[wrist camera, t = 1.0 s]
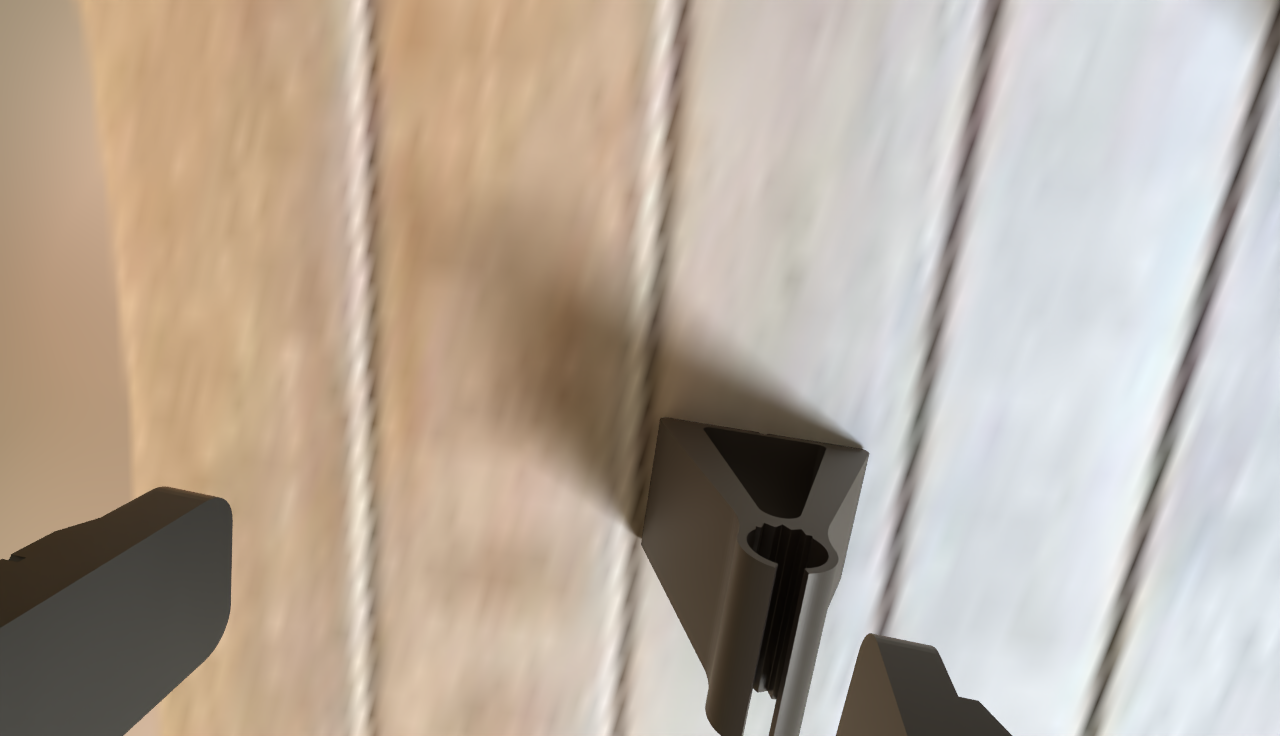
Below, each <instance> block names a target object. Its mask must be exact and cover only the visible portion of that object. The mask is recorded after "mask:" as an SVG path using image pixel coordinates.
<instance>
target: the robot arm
mask: <svg viewBox="0 0 1280 736" xmlns="http://www.w3.org/2000/svg"><path fill="white" fill-rule="evenodd" d="M232 522H233V520H232V511H231V508H230V505H229V504H228V502H227V501H226V500H224V499H222V498H219V497H215V496H210V495H205V494H200V493H195V492H190V491H185V490H181V489H176V488H171V487H158V488H155V489H153V490H151V491H149V492H147V493H145V494H144V495H142V496H140V497H138V498H136V499H134V500H132V501H131V502H129V503H127V504H125V505H123V506H121V507H119V508H118V509H116V510H114V511H112V512H110V513H108V514H106V515H105V516H103V517H101V518H98V519H95V520H91V521H88V522H85V523H82V524H78V525H75V526H72V527H68V528H65V529H62V530H58V531H55V532H53V533H51V534H49V535H47V536H45V537H43V538H41V539H39V540H38V541H36V542H34V543H32V544H30V545H28V546H26V547H24V548H23V549H20V550H19V551H17V552H15V553H13V554H11V557H10V559H9V560H5V559H1V560H0V736H123V735H124V734H125V733H127V732H128V731H129V730H130V729H131V728H132V727H133V726H134V725H135V724H136V723H137V722H139V721H140V720H141V719H142V718H143V717H144V716H145V715H146V714H147V713H148V712H149V711H150V710H152V709H153V708H154V707H155V706H156V705H157V704H158V703H159V702H160V701H161V700H162V699H164V698H165V697H166V696H167V695H168V694H169V693H170V692H171V691H172V690H173V689H174V688H176V687H177V686H178V685H179V684H180V683H181V682H182V681H183V680H184V679H185V678H186V677H187V676H189V675H190V674H191V673H192V672H193V671H194V670H195V669H196V668H197V667H198V666H199V665H201V664H202V663H203V662H204V661H205V660H206V659H207V658H208V657H209V656H210V654H211V653H212V652H213V651H214V649H215V648H216V646H217V645H218V643H219V641H220V639H221V637H222V635H223V633H224V631H225V628H226V625H227V622H228V619H229V614H230V607H231V569H232ZM836 736H1012V735H1011V734H1010V733H1009V732H1008V731H1007V730H1006V729H1005V728H1004V727H1003V726H1002V725H1001V724H1000V723H999V722H998V721H997V720H996V718H995V717H994V716H993V715H992V714H991V713H990V712H989V711H988V710H987V709H986V708H985V707H984V706H983V705H982V704H981V703H980V702H979V701H976V700H972V699H967V698H962V697H958V695H957V693H956V690H955V688H954V686H953V684H952V681H951V679H950V677H949V675H948V673H947V670H946V668H945V666H944V664H943V661H942V659H941V657H940V655H939V653H938V651H937V650H936V648H935V647H933V646H930V645H925V644H920V643H915V642H910V641H906V640H901V639H896V638H891V637H886V636H881V635H876V634H872V633H870V634H868V635H867V636H866V637H865V638H864V640H863V642H862V644H861V647H860V650H859V653H858V657H857V661H856V664H855V668H854V672H853V675H852V679H851V682H850V686H849V690H848V693H847V697H846V701H845V704H844V708H843V712H842V715H841V719H840V723H839V726H838V730H837V734H836Z"/></svg>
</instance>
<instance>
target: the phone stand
mask: <svg viewBox="0 0 1280 736" xmlns="http://www.w3.org/2000/svg"><path fill="white" fill-rule="evenodd" d="M868 457H869V452H867V451H866V450H863V449H858V448H852V447H846V446H840V445H834V444H827V443H821V442H815V441H809V440H803V439H796V438H790V437H784V436H778V435H771V434H767V435H764V434H760V433H759V432H753V431H747V430H740V429H734V428H728V427H722V426H716V425H709V424H703V423H697V422H691V421H685V420H678V419H672V418H661V419H660V424H659V431H658V437H657V444H656V450H655V457H654V463H653V470H652V476H651V483H650V490H649V496H648V503H647V509H646V516H645V522H644V529H643V535H642V542H641V545H642V547H643V549H644V551H645V553H646V555H647V557H648V559H649V561H650V563H651V565H652V567H653V569H654V571H655V573H656V575H657V577H658V579H659V581H660V583H661V585H662V587H663V588H664V590H665V592H666V594H667V596H668V598H669V600H670V602H671V604H672V606H673V608H674V610H675V612H676V614H677V616H678V618H679V620H680V622H681V624H682V626H683V628H684V630H685V632H686V634H687V636H688V638H689V640H690V642H691V644H692V646H693V648H694V650H695V652H696V654H697V655H698V657H699V659H700V661H701V663H702V665H703V667H704V669H705V672H706V674H707V678H708V684H709V689H708V695H707V700H706V706H705V710H706V715H707V718H708V720H709V722H710V724H711V725H712V727H713V728H714V729H715V730H716V731H717V732H718V733H719V734H720V735H721V736H743V733H744V729H745V724H746V719H747V714H748V709H749V704H750V699H751V694H752V689H754V690H755V691H757V692H764V691H768V693H769V695H770V697H771V699H777V700H776V704H775V709H774V714H773V718H772V723H771V728H770V732H769V736H799V733H800V728H801V724H802V719H803V715H804V710H805V706H806V702H807V697H808V693H809V688H810V684H811V679H812V675H813V671H814V666H815V662H816V657H817V653H818V648H819V644H820V640H821V635H822V631H823V626H824V622H825V617H826V613H827V609H828V607H829V605H830V602H831V600H832V598H833V595H834V593H835V591H836V588H837V586H838V584H839V582H840V579H841V575H842V571H843V566H844V562H845V558H846V553H847V549H848V544H849V540H850V536H851V531H852V527H853V523H854V518H855V514H856V509H857V505H858V501H859V496H860V492H861V487H862V483H863V479H864V474H865V470H866V466H867V461H868Z"/></svg>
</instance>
